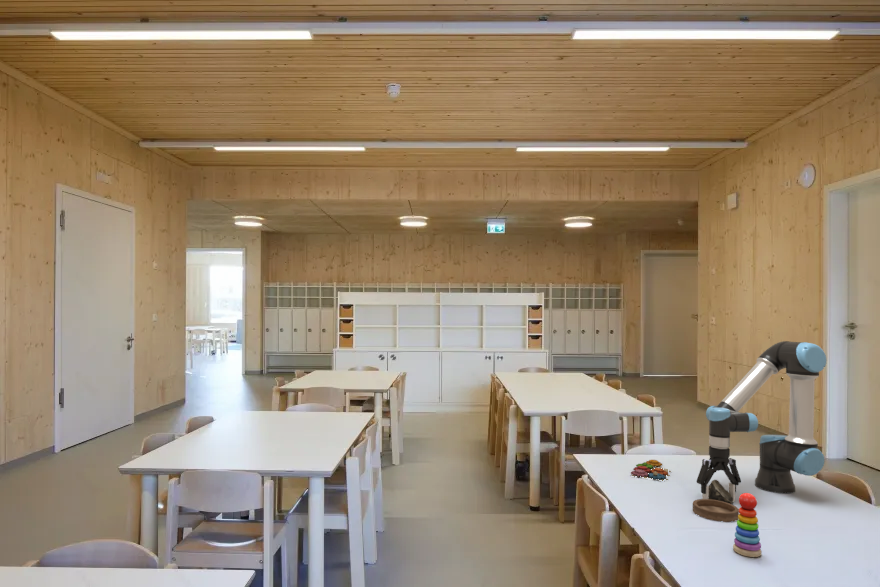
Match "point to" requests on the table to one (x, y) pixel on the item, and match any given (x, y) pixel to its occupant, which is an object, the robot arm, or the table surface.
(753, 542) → the stacking toy
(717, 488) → the grey brown rock
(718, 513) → the round tray
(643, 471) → the gear puzzle
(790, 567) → the table surface
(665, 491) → the table surface
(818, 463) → the robot arm
